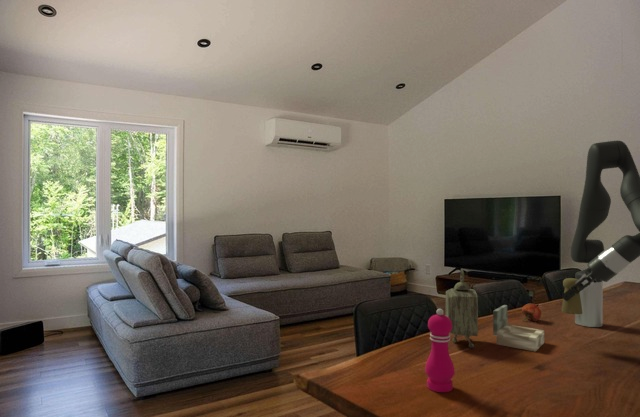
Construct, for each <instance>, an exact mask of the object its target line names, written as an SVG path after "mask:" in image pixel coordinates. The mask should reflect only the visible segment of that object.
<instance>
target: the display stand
mask: <svg viewBox="0 0 640 417" xmlns="http://www.w3.org/2000/svg"><path fill="white" fill-rule="evenodd" d="M492 332H493V333H492V334H493V336H496V345H499V346H504V347H510V348H515V349H518V350H519V349H520V350H524V351H525V350H526V351H530V352H535V353H536V352H537V351H538V350H539V349H540V348H541V347H542V346H543V345H544V344H545V330H544V329H537V328H532V327H525V326H519V325H514V324H513V325H512V324H508V305H507V304H503V305H501V306H499V307H498V308H495V309H494V310H493V311H492Z"/></svg>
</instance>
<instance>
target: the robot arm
mask: <svg viewBox="0 0 640 417" xmlns="http://www.w3.org/2000/svg"><path fill="white" fill-rule="evenodd" d="M633 158H634V157H633V156H632V153H631V150H630V149H629V147H628V145H627V144H626V142H624V141H622V140H610V141H609V140H608V141H601V142H600V141H599V142H596V143H593V144H591V145H590V147H589V149H588V151H587V156H586V167H585V168H586V170H585V180H584V186H583V190H582V191H583V193H582V197H581V200H580V204H579V205H580V206H579V211H578V213H579V214H578V218H577V224H576V229H575V232H574V234H573V239H572V243H571V246H570V257H571V260H572V261H573V262H575V263H578V264H579V263H581V264H587V267H588V268H585V269H583V270H579V271H577V272H575V275H574V277H575V279H578V280H577V281H576V282H575V285H574V286H573V287H570V289H569V290H568V291H567V292H565V293H564V292H563V294H561V298H562V300H563V299H564V300H565V301H567V300H569V299H570V298H571V297H573V296H574V295H575V294H578V293H579V292H580V298H581V305H582V312H583V313H582V314H574V323H575V324H576V325H578V326H583V327H588V328H601V327H603V308H604V307H603V305H604V304H603V295H604V294H603V290H604V288H603V282H605V283H607V282H609V281H610V280H612V279H613V278H615V277H616V276H617V275H618V274H619V273H620V272H622V271H623V270H625V269H626V268H627V267H628V266H629V265H630V264H632V263H633V262H634V261H635V260H637V259H638V258H639V257H640V174H639V170H638V168H637V165H636V162H635V161H634V159H633ZM615 168H618V169H619V170H620V171H621V172H622V180H621V183H620V189H619V191H620V192H619V193H620V197H621V200H622V201H623V203H624V205H625V206H626V208H627V209H628V211H629V213H630V215H631V218H632V221H633V224H634V226H635V227H636V229H637V231H638V233H637V234H635V235H630V234H626V235H624V236H622V237H620V238H619V239H618V240H617V241H615V243H613V244H612V245H610V246H609V247H607V248H605V245H604V243H603V241H602V240H600V239H588V237H589V235H590V234H592V233H593V231H594V230H596V229H597V228H599V226H601V225H602V224H603V223H604V222H605V221H606V220H607V218H608V216H609V213H610V208H611V204H612V199H611V196H610V193H609V192H608V190H607V189H606V187H605V186H604V184H603V183H602V179H601V176H602V172H603V170H608V169H609V170H610V169H615ZM575 286H578V287H579V288H580V289H579V290H577V289H576V288H575Z"/></svg>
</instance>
